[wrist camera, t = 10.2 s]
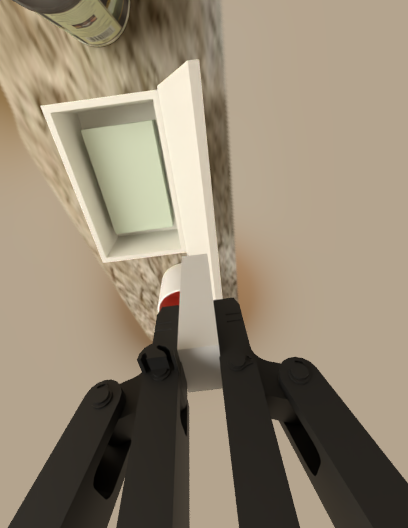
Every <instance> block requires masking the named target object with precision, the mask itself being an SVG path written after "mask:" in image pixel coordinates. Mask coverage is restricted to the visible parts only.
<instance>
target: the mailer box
mask: <svg viewBox="0 0 408 528" xmlns="http://www.w3.org/2000/svg"><path fill="white" fill-rule="evenodd" d="M41 108H42V111H43V113H44V116H45V118H46V121H47V123H48V126H49V128H50V131H51V133H52V136H53V138H54V141H55V143H56V146H57V148H58V151H59V153H60V156H61V158H62V161H63V163H64V166H65V168H66V171H67V173H68V176H69V178H70V181H71V183H72V186H73V188H74V191H75V193H76V196H77V198H78V201H79V203H80V206H81V208H82V211H83V213H84V216H85V218H86V221H87V223H88V226H89V228H90V231H91V233H92V236H93V238H94V241H95V243H96V246H97V248H98V251H99V253H100V256H101V258H102V261H103V263H106V262H114V261H122V260H129V259H137V258H145V257H153V256H161V255H169V254H176V253H184V252H187V251H186V246H185V240H184V234H183V229H182V223H181V218H180V212H179V206H178V201H177V195H176V190H175V184H174V178H173V173H172V167H171V161H170V156H169V150H168V145H167V139H166V133H165V128H164V122H163V116H162V111H161V105H160V100H159V94H158V90H151V91H143V92H136V93H129V94H122V95H115V96H108V97H101V98H93V99H86V100H79V101H72V102H65V103H58V104H51V105H43V106H41Z"/></svg>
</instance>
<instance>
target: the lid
mask: <svg viewBox="0 0 408 528" xmlns="http://www.w3.org/2000/svg"><path fill="white" fill-rule="evenodd" d="M157 88H158V94H159V100H160V105H161V111H162V116H163V122H164V128H165V133H166V139H167V145H168V150H169V156H170V161H171V167H172V173H173V178H174V184H175V190H176V195H177V201H178V206H179V212H180V218H181V223H182V229H183V234H184V240H185V246H186V251H187V255H188V256H191V255H198V254H206V253H207V256H208V263H209V271H210V279H211V287H212V295H213V300H218V299H223V298H222V288H221V278H220V267H219V257H218V247H217V237H216V227H215V217H214V206H213V196H212V186H211V176H210V166H209V156H208V145H207V135H206V125H205V115H204V105H203V95H202V84H201V74H200V64H199V59H197V60H187V61H186V62H185V63H184V64H183V65H181V66H180V67H179V68H178V69H177V70H176V71H174V72H173V73H172V74H171V75H170V76H168V77H167V78H166V79H165V80H164V81H162V82H161V83H160V84H159V85H158V86H157Z"/></svg>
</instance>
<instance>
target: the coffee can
mask: <svg viewBox="0 0 408 528" xmlns="http://www.w3.org/2000/svg"><path fill="white" fill-rule="evenodd" d="M13 1H14V2H16V3H18V4H19V5H21V6H23V7H25V8H27V9H29V10H31V11H34V12H35V13H37V14H38V15H40V16H41V17H43V18H45V19H46V20H48V21H49V22H51V23H53V24H54V25H56V26H57V27H59V28H61V29H62V30H64V31H65V32H67V33H69V34H70V35H71V36H73V37H74V38H75V39H76V40H78V41H80V42H81V43H83V44H86V45H89V46H93V47H102V46H106V45H109V44H111V43H113V42H114V41H115V40H117V39H118V38H119V36H120V35H121V34H122V33H123V31H124V29H125V27H126V24H127V21H128V18H129V12H130V0H13Z"/></svg>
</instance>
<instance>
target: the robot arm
mask: <svg viewBox="0 0 408 528" xmlns="http://www.w3.org/2000/svg"><path fill="white" fill-rule="evenodd" d="M137 361H138V363H139V366H140V368H141V371H142V373H141V374H139V375H138V376H136V377H134V378H133V379H130V380H128V381H126V382H123V383H121V384H118V382H116V381H114V380H104V381H102V382H99V383H98V384H96V385H95V386H94V387H92V388H91V389H90V390H89V391H88V393H87V394H86V395H85V397H84V399H83V401H82V402H81V404H80V406H79V407H78V409H77V411H76V412H75V414H74V416H73V418H72V419H71V421H70V423H69V424H68V426H67V428H66V429H65V431H64V433H63V434H62V436H61V438H60V440H59V441H58V443H57V445H56V446H55V448H54V450H53V451H52V453H51V455H50V457H49V458H48V460H47V462H46V463H45V465H44V467H43V469H42V470H41V472H40V474H39V475H38V477H37V479H36V481H35V482H34V484H33V486H32V487H31V489H30V491H29V492H28V494H27V496H26V497H25V500H24V501H23V503H22V504H21V506H20V508H19V509H18V511H17V513H16V515H15V516H14V518H13V520H12V521H11V523H10V525H9V527H8V528H107V526H108V523H109V520H110V517H111V515H112V512H113V509H114V506H115V503H116V500H117V497H118V495H119V492H120V489H121V486H122V484H123V481H124V478H125V481H124V487H123V492H122V498H121V504H120V510H119V516H118V521H117V527H116V528H189V405H188V400H187V388H188V392H195V391H203V390H213V389H221V388H223V395H224V403H225V412H226V419H227V428H228V437H229V446H230V454H231V462H232V470H233V479H234V487H235V496H236V505H237V513H238V521H239V528H300V526H299V522H298V518H297V515H296V511H295V507H294V504H293V499H292V495H291V492H290V488H289V484H288V480H287V476H286V473H285V469H284V465H283V461H282V457H281V454H280V450H279V446H278V442H277V438H276V435H275V431H274V427H273V424H272V420H271V419H275V420H279V422H280V424H281V426H282V428H283V430H284V431H285V433H286V435H287V437H288V439H289V441H290V443H291V445H292V446H293V449H294V450H295V452H296V454H297V456H298V458H299V460H300V462H301V464H302V466H303V468H304V469H305V471H306V473H307V475H308V477H309V479H310V481H311V483H312V485H313V486H314V489H315V490H316V492H317V494H318V496H319V498H320V500H321V502H322V504H323V506H324V508H325V510H326V511H327V513H328V515H329V517H330V519H331V521H332V523H333V525H334V527H335V528H408V483H407V482H406V481H405V479H404V478H403V477H402V475H401V474H400V473H399V472H398V470H397V469H396V468H395V467H394V465H393V464H392V463H391V461H390V460H389V459H388V458H387V457H386V455H385V454H384V453H383V451H382V450H381V449H380V448H379V446H378V445H377V444H376V442H375V441H374V440H373V439H372V438H371V436H370V435H369V434H368V432H367V431H366V430H365V429H364V427H363V426H362V425H361V423H360V422H359V421H358V420H357V418H355V416H354V415H353V413H352V412H351V411H350V410H349V408H348V407H347V406H346V404H345V403H344V402H343V401H342V399H341V398H340V397H339V396H338V394H337V393H336V392H335V391H334V389H333V388H332V387H331V386H330V385H329V383H328V382H327V380H326V379H325V378H324V377H323V375H322V374H321V373H320V372H319V370H318V369H317V368H316V367H315V366H314V365H313V364H312V363H311V362H309V361H307V360H305V359H303V358H298V357H292V358H288V359H286V360H284V361H283V362H282V363H281V364H280V363H275V362H269V361H266V360H263V359H261V358H259V357H258V356H257V355H255V354H254V353H253V351H252V350H251V347H250V344H249V340H248V337H247V333H246V329H245V325H244V321H243V317H242V314H241V309H240V305H239V303H238V302H237V301H236V300H235V299H234V298H226V299H218V300H213V295H212V287H211V279H210V271H209V263H208V256H207V253H206V254H198V255H191V256H183V257H182V263H181V283H180V303H179V305H175V306H166V307H162V308H161V310H160V311H159V313H158V314H157V319H156V326H155V332H154V339H153V344H151V345H149V346H147V347H146V348H144V349H143V350H142V352H141V353H140V354H139V356H138V359H137Z"/></svg>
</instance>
